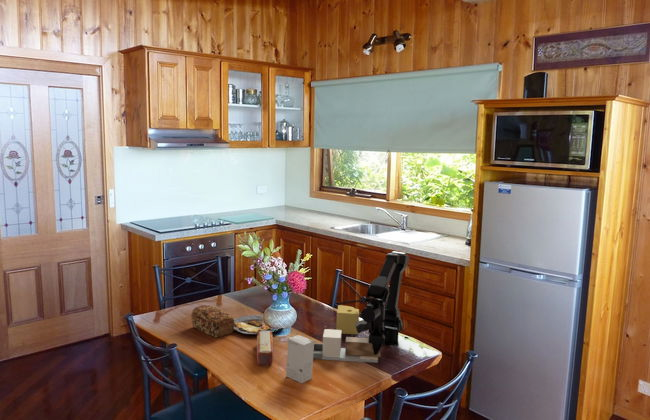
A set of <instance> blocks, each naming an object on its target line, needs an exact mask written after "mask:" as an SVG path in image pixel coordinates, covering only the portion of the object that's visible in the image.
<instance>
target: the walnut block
mask: <svg viewBox="0 0 650 420" xmlns="http://www.w3.org/2000/svg"><path fill="white" fill-rule="evenodd" d="M345 348H346V349H345V355H358V356H375V357H378V358H381V356H382V355H381V353H382V352H381V351H382V347H381V348H380V350H379V352H378V354H377V355H374V351H373V345H372V343H369V337H354V336H346V337H345Z"/></svg>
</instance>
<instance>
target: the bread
mask: <svg viewBox="0 0 650 420" xmlns="http://www.w3.org/2000/svg"><path fill="white" fill-rule="evenodd" d="M190 315H191V323H192V324H191V325H192V327H193V328H194V329H196V330H199V331H200V332H203V333H204V334H206V335H208V336H212V337H214V338H222V337H223V336H226V335H228V336H229V335H230V334H233V333H234V331H235V330H234V319H235V318H234V317H233V316H232V315H231V313H228V312H227V311H226V310H223V309H222V308H221V309H220V308H218V307H216V306H212V305H210V304H209V305H206V304H202V305H198V306H196V307H195V308H194V309H192V312H191V314H190Z"/></svg>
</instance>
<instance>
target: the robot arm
mask: <svg viewBox="0 0 650 420" xmlns="http://www.w3.org/2000/svg"><path fill="white" fill-rule="evenodd" d="M409 262H410V256H409V255H408V253H407V252H403V251H402V252H401V251H394V250H393V251H391V253H390V252H388V253H387V254H386V255H385V260H384V263H383V264H382V267H381V270H380V271H379V274H378V276H377V278H375V279H373V280H372V282H371V283H370V285H368V288H367V292H366V295H365V299H364V303H367V304H366V305H365V308H363V309H362V310H361V313H360V314H361V318H362V320H359V321H358V322H356V323H355V326H356V330H357V332H358V334H361V333H363V332H366V331H368V338H369V343H372V345H373V351H374V355H377V354H378V352H379V350H380V348H381V349H382V346H383V345H395V346H396V345H397V346H399V332H400V331H403V326H404V325H403V321H402V319H401V312H400V309H399V307H398V306H399V300H400V298H399V297H400V292H401V284H402V277H403V273H404V271H406V269H407V268H408V265H409Z"/></svg>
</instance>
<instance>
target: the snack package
mask: <svg viewBox="0 0 650 420" xmlns="http://www.w3.org/2000/svg"><path fill="white" fill-rule="evenodd" d="M273 338H274V335H273V332H270V331H260V332H259V333H258V334H256V363H257V366H259V367H269V366H271V365H272V364H273V362H274V342H273V340H274V339H273Z"/></svg>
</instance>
